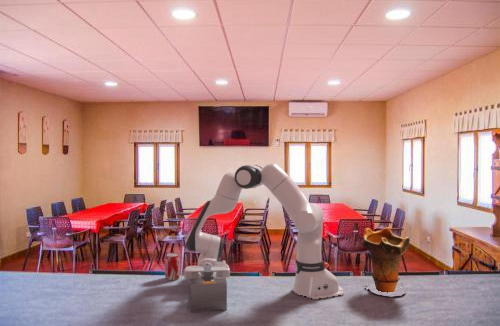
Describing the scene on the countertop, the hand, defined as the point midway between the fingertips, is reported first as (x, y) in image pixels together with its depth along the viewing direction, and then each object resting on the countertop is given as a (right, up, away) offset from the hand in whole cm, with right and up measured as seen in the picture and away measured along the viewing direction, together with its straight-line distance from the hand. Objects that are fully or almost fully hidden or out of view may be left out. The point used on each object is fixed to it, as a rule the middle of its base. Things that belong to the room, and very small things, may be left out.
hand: (207, 278), depth 157 cm
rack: (+2, -9, -10) cm, 13 cm away
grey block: (0, -6, -1) cm, 6 cm away
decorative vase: (+80, -9, +10) cm, 81 cm away
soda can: (-20, -8, +24) cm, 32 cm away
